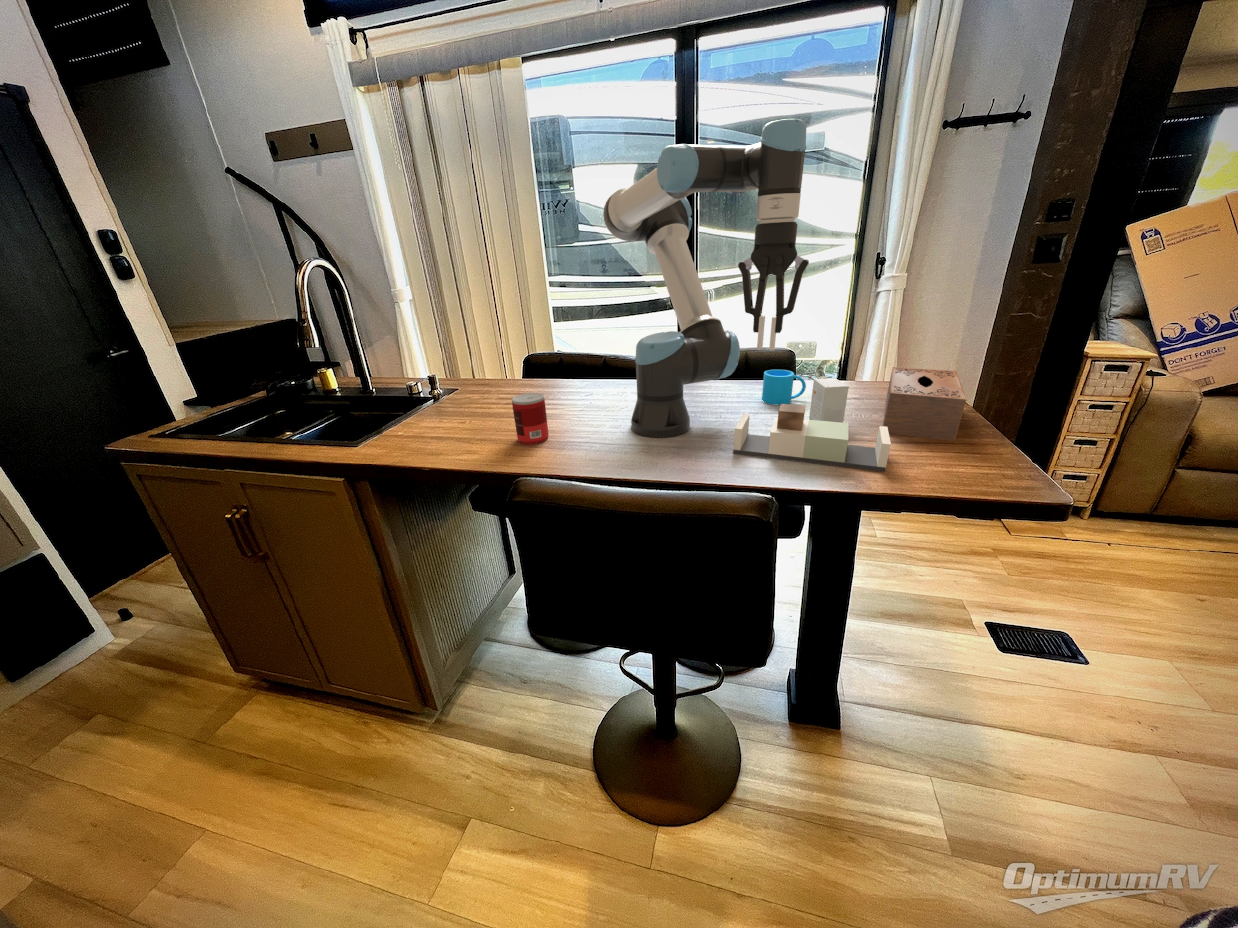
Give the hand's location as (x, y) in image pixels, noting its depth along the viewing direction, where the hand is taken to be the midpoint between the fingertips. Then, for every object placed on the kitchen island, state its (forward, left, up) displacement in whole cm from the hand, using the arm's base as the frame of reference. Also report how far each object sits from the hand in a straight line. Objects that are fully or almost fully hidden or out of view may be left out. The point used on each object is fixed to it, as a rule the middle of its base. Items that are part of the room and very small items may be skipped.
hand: (765, 348), depth 98 cm
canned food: (-53, -11, -23) cm, 59 cm away
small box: (+14, +21, -23) cm, 34 cm away
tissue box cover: (+35, +30, -23) cm, 51 cm away
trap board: (+11, 0, -22) cm, 25 cm away
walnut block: (+7, 0, -16) cm, 18 cm away
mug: (+2, +37, -23) cm, 43 cm away
